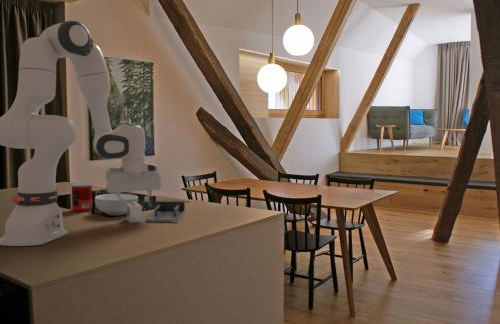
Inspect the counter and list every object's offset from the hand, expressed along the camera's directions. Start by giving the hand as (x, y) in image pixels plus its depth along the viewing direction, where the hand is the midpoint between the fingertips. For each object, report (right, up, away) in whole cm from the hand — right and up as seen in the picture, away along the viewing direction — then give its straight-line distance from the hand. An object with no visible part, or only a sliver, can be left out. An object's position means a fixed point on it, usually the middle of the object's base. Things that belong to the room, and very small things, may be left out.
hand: (134, 202), depth 177 cm
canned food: (-26, -5, +18) cm, 32 cm away
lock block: (0, -7, -1) cm, 7 cm away
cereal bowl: (-10, -6, +12) cm, 17 cm away
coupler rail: (+11, -6, +7) cm, 15 cm away
